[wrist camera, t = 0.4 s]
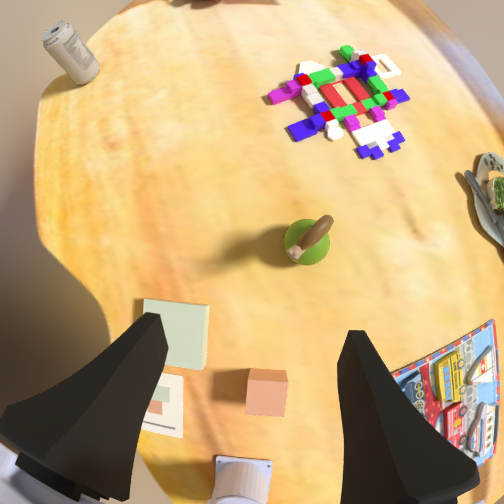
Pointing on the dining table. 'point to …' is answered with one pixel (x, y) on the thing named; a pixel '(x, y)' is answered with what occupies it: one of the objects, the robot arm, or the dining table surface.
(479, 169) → the salad plate
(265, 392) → the top brick
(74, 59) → the energy drink can
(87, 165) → the dining table surface
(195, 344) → the base brick
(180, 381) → the page
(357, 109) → the building block set
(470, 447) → the puzzle board
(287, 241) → the snail figurine
